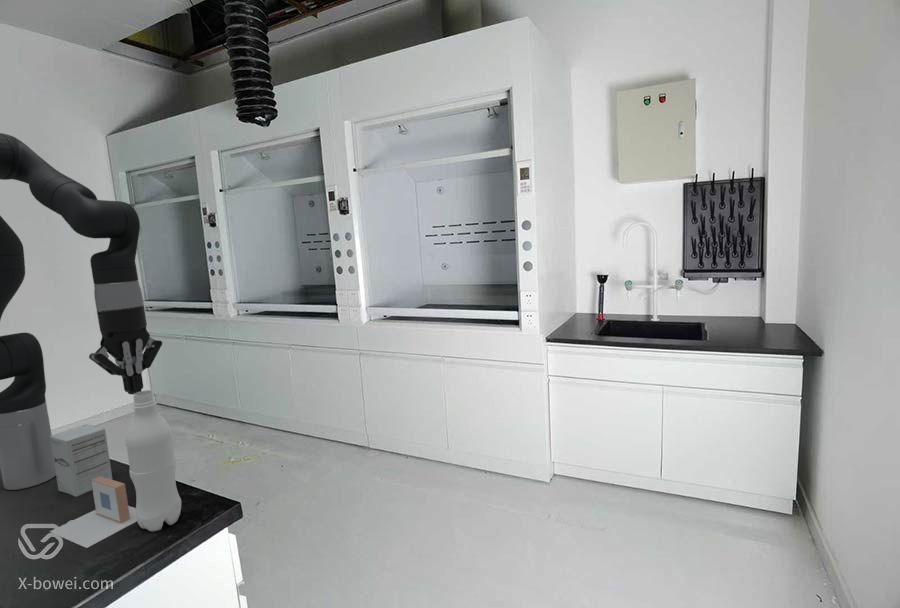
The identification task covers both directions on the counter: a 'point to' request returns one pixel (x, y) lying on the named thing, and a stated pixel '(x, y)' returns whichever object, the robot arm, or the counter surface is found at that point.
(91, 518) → the mat
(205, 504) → the counter surface
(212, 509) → the counter surface
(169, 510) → the water bottle
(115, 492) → the tile
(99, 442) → the supplement box
